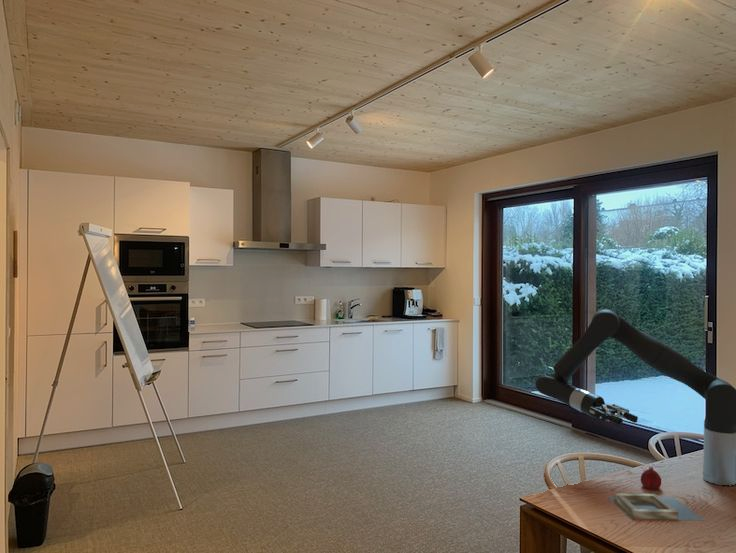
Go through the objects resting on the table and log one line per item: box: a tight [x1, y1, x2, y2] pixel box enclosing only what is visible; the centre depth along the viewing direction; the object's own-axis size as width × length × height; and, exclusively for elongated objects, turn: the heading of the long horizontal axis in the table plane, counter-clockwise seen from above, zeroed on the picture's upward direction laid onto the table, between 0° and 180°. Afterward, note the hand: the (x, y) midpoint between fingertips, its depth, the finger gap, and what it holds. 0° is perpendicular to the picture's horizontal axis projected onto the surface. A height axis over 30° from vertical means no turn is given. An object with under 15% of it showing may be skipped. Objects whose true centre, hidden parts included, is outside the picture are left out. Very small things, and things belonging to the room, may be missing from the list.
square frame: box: [614, 492, 678, 520], centre depth 155 cm, size 12×12×2 cm
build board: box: [607, 495, 705, 522], centre depth 156 cm, size 20×15×2 cm
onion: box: [640, 466, 662, 491], centre depth 171 cm, size 6×6×8 cm
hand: (629, 421), depth 177 cm, fingers open, 8 cm apart
